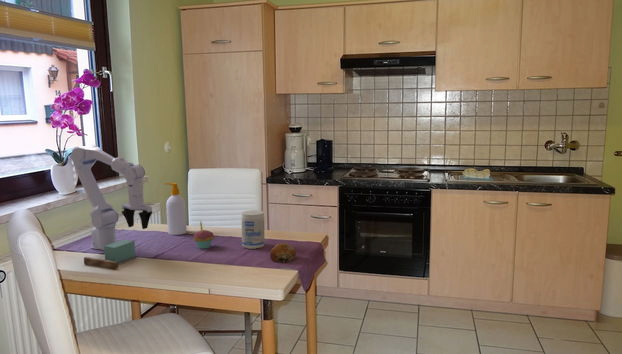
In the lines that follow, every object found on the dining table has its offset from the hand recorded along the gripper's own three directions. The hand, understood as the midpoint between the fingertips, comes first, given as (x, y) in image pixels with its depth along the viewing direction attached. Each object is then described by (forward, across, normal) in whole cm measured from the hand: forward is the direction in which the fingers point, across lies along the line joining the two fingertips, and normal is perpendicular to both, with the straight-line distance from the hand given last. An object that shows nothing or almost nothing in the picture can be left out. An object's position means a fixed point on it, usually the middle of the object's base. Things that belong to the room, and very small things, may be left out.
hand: (137, 227), depth 194 cm
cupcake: (+10, -21, -15) cm, 28 cm away
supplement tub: (+10, -40, -24) cm, 48 cm away
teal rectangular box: (+10, -1, +11) cm, 15 cm away
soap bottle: (+10, +5, -28) cm, 31 cm away
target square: (+10, -1, +12) cm, 16 cm away
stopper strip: (+10, -1, +20) cm, 23 cm away
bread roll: (+10, -60, -15) cm, 62 cm away
